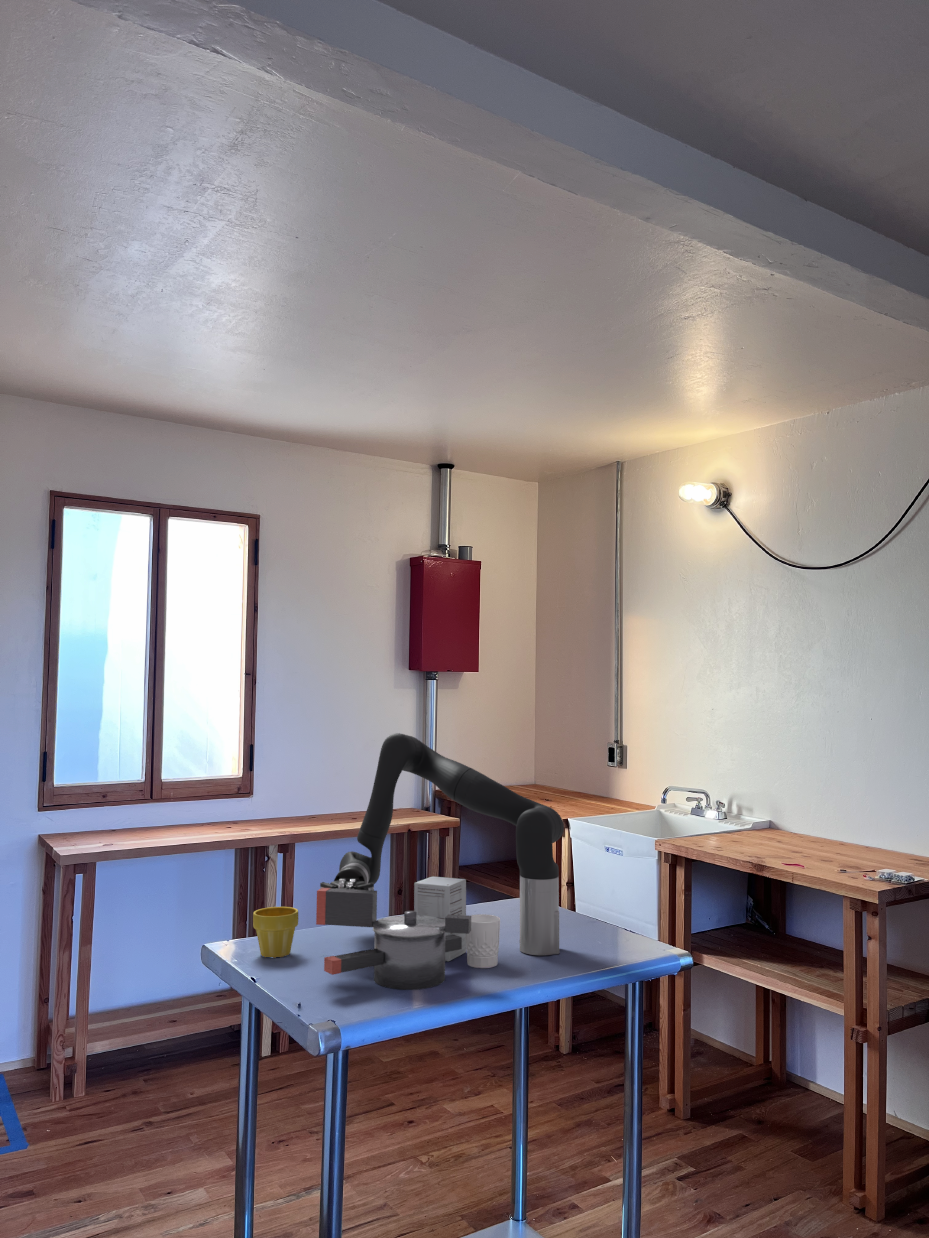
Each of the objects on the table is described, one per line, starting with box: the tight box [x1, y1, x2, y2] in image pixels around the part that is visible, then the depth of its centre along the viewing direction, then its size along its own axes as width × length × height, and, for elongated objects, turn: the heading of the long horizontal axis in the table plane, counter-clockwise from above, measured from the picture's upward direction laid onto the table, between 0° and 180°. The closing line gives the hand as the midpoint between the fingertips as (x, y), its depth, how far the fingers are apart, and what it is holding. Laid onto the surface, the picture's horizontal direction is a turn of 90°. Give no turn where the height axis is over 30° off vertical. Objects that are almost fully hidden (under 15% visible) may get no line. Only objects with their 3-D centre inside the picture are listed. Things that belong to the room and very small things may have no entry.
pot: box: [323, 932, 462, 991], centre depth 191 cm, size 27×23×10 cm
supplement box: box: [413, 876, 467, 962], centre depth 212 cm, size 10×9×17 cm
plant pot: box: [252, 906, 299, 959], centre depth 211 cm, size 10×10×10 cm
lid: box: [315, 888, 471, 938], centre depth 195 cm, size 33×16×7 cm, turn 79°
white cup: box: [466, 913, 501, 969], centre depth 205 cm, size 8×8×10 cm
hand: (341, 896), depth 201 cm, fingers closed
